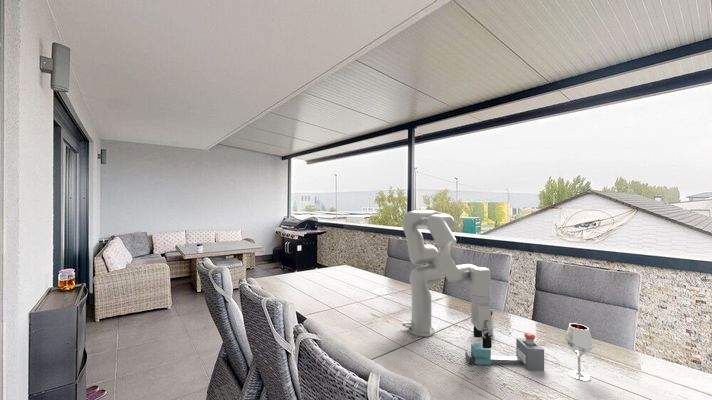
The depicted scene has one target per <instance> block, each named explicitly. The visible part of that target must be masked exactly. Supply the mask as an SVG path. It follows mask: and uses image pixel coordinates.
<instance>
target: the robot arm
mask: <svg viewBox="0 0 712 400" xmlns="http://www.w3.org/2000/svg"><path fill="white" fill-rule="evenodd" d="M455 225H456V221H455V219H454V217H453V216H451V214H448V213H444V212H440V211H437V210H432V209H419V210H417V209H416V210H415V209H414V210H410V211H407V212H406V213H405V215H404V216H403V218H402V229H403V232H404V235H405V239H406V244H407V245H406V246H407V251H408V252H407V253H408V257H409V260H410V262H411V264H413V265H424V264H425V266H420V267H419V266H418V267H415V268H413V269H412V270H411V271H410V272H409V283H410V288H411V319H410V321H408V322H407V321H402V322H401V324H402V325H401V326H402V327H405V328H406V329H407V328H408V331H409V333H410V334H411V335H414V336H417V337H421V338H423V337H425V338H426V337H427V338H428V337H432V336H433V335H434V334H435V328H434V327H432V293H431V291H430V290H429V287H430V286H433V285H434V286H435V285H438V284H440V283H441V282H442V281H443V277H445V278H446V280H447V281H448V282H450V284H452V285H460V284H465V283H470V301H471V302H470V303H471V306H470V307H471V311H470V312H471V314H470V318H471V319H470V322H471V324H472V325H473V326H472V327H473V337H474V338H482V339H481V340H482V341H481V342H482V344H483V348H490V349H492V348H493V347H492V346H493V344H492V342H493V341H492V336H493V335H492V322H491V310H490V308H491V305H492V281H491V280H492V279H491V274H492V273H491V270H490V269H489V268H487V267H483V266H477V265H474V264H471V263H463V264H456V263H455V262H454V260H453V258H452V254H451V250H452V248H454V247H455V246H456V244H457V238H456V237H455V236H454V234H453V232H452V231H453V230H454V229H455V227H456V226H455ZM419 228H427V229H428V231H429V233H430V234H431V236H432V239H433V240H434V242H435V243H436V245H437V247H438V249H439V250H438V249H437V247H436V246H434V245H432V244H429V243H428V244H425V240H424V236H423V234H422V232H421V231H420V229H419ZM443 274H444V275H443ZM483 328H487V329H483ZM485 332H486V334H485ZM482 334H483V336H482Z"/></svg>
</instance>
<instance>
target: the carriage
mask: <svg viewBox="0 0 712 400" xmlns="http://www.w3.org/2000/svg"><path fill="white" fill-rule="evenodd" d="M491 349H492V348H483V344H482V343H478V342H477V343H476V342H475V343H474V342H471V343H470V354H471V355H473V357H474V363H475V364H474V365H486V366H487V365H489V366H491V365H492V364H491V356H492V350H491Z"/></svg>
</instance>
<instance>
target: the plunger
mask: <svg viewBox="0 0 712 400" xmlns="http://www.w3.org/2000/svg"><path fill="white" fill-rule="evenodd" d="M523 335H524V338H526V345H527V346H534V341H535V339H536V336H535V334H534V333H531V332H525V333H524V334H523Z"/></svg>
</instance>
